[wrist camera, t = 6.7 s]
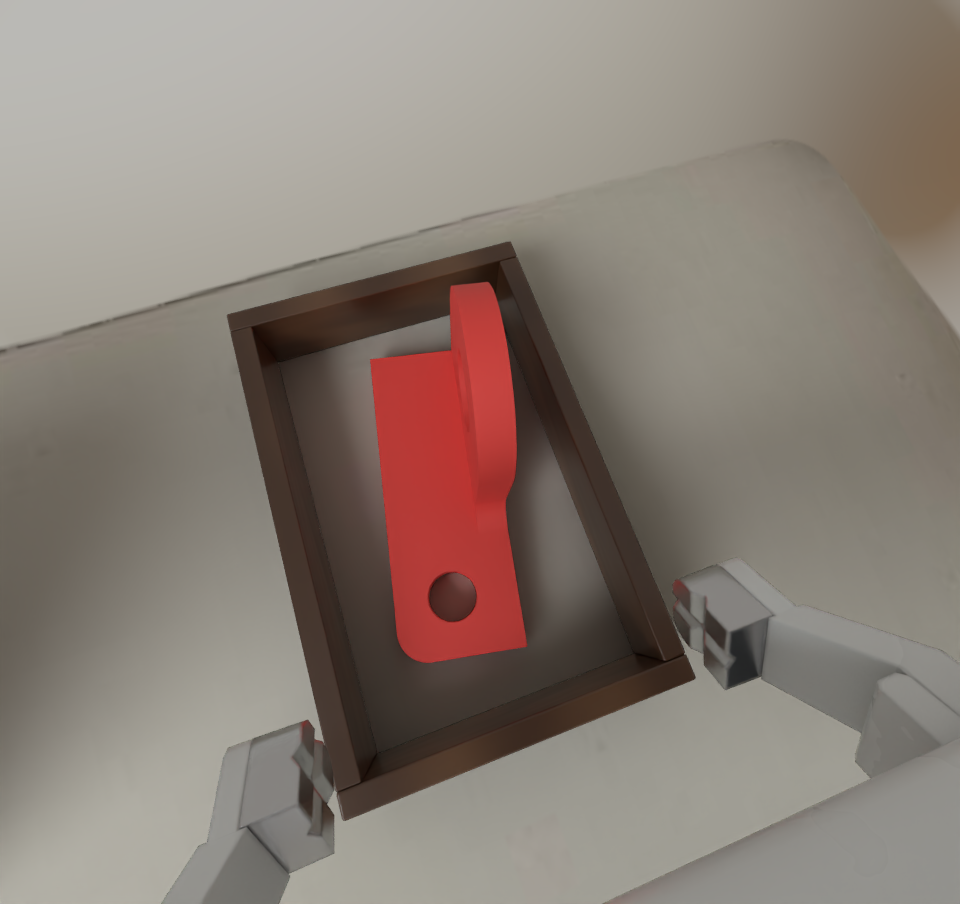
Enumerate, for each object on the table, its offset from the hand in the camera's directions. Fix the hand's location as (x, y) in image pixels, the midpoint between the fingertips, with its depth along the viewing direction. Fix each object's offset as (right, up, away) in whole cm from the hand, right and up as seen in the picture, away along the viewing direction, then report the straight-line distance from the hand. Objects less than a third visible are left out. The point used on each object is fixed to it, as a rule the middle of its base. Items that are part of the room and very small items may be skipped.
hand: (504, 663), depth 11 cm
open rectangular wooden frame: (-2, +3, +10) cm, 10 cm away
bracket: (-2, +3, +10) cm, 10 cm away
